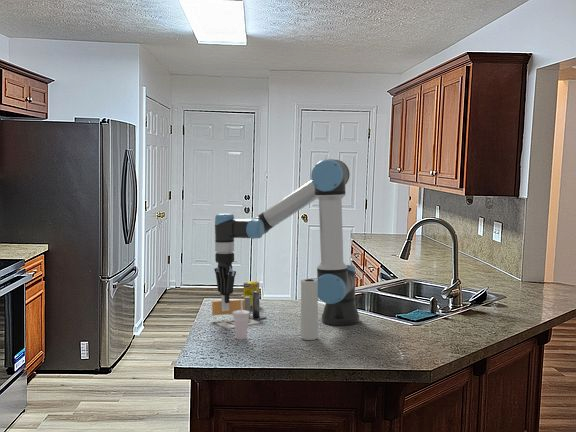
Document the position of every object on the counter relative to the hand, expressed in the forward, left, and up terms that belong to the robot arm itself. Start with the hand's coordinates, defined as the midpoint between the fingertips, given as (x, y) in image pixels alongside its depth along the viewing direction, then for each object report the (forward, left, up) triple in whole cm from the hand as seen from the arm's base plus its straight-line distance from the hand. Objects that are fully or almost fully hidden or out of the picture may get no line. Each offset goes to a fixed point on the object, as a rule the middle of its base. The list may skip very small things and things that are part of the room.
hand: (225, 310), depth 264 cm
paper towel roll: (-41, -11, -5) cm, 42 cm away
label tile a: (-7, -6, -4) cm, 10 cm away
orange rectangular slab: (+1, -4, -3) cm, 5 cm away
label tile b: (-7, +3, -5) cm, 8 cm away
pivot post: (-3, -13, -5) cm, 14 cm away
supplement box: (+17, -24, -5) cm, 30 cm away
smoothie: (-26, +9, -5) cm, 28 cm away
